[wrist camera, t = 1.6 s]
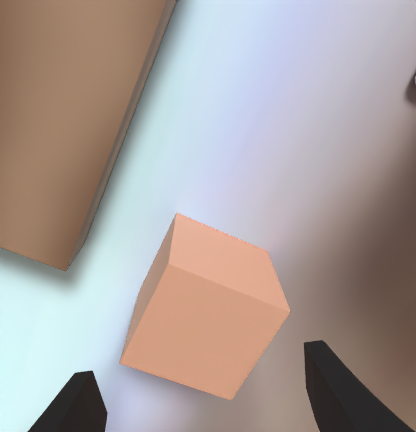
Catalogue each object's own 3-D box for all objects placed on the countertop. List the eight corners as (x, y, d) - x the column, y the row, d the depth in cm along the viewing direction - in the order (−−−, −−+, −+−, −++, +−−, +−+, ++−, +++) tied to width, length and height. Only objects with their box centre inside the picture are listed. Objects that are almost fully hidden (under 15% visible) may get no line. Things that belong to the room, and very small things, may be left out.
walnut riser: (203, -69, 13) (204, -100, 11) (83, 244, 17) (65, 271, 15) (-87, -240, 11) (-163, -322, 9) (-136, 160, 16) (-194, 176, 13)
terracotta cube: (267, 250, 18) (290, 311, 13) (223, 323, 20) (230, 400, 15) (176, 211, 17) (168, 263, 12) (139, 291, 19) (119, 363, 14)
